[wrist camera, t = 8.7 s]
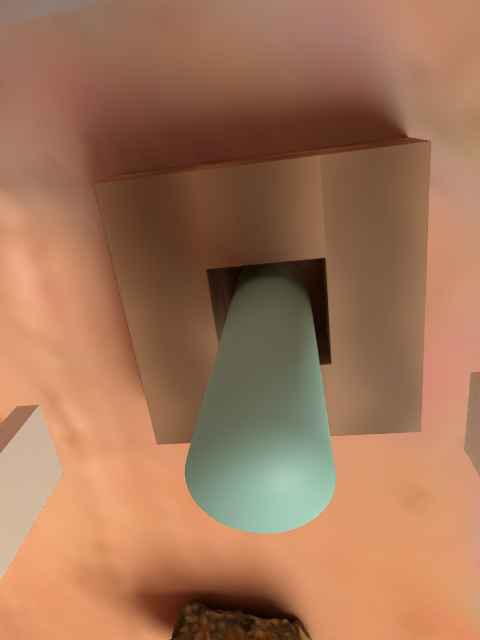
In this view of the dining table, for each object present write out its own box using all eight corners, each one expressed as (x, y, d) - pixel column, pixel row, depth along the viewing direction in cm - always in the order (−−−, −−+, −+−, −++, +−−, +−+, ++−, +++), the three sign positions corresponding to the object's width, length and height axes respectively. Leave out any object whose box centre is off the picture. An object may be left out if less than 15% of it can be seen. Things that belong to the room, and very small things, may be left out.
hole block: (171, 407, 29) (157, 444, 25) (119, 174, 23) (93, 183, 20) (404, 394, 27) (420, 431, 24) (408, 137, 21) (430, 141, 18)
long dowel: (239, 329, 26) (197, 534, 13) (230, 261, 24) (172, 420, 12) (311, 323, 25) (339, 531, 13) (306, 253, 24) (332, 411, 11)
